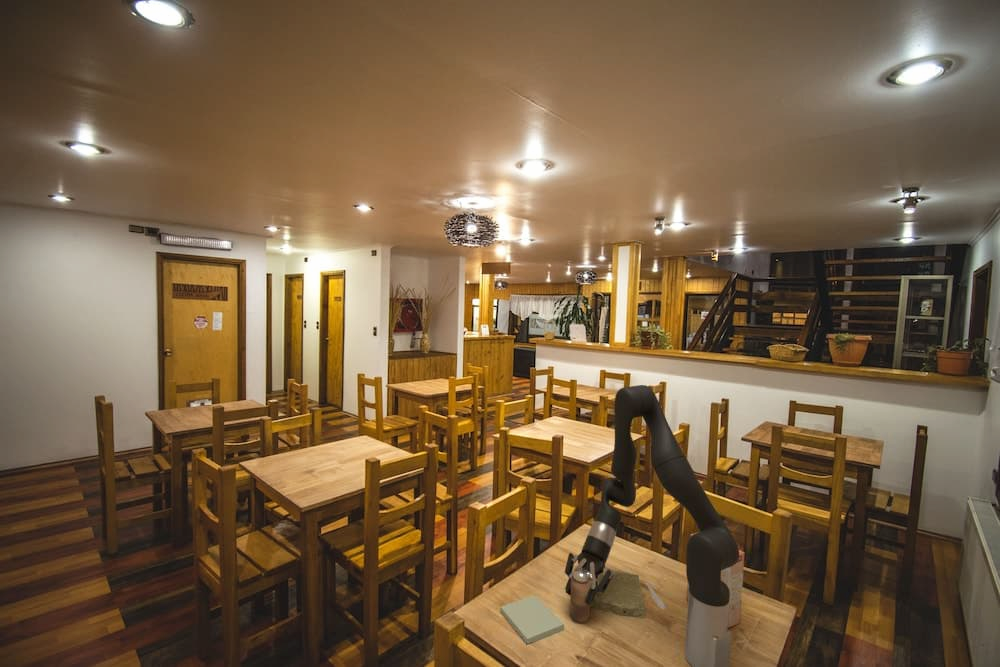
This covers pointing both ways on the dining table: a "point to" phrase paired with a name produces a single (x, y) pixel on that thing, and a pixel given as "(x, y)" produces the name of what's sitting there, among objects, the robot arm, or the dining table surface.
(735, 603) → the cracker box
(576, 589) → the pepper mill
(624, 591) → the decorative tile
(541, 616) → the serving board
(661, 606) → the butter knife
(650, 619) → the dining table surface
